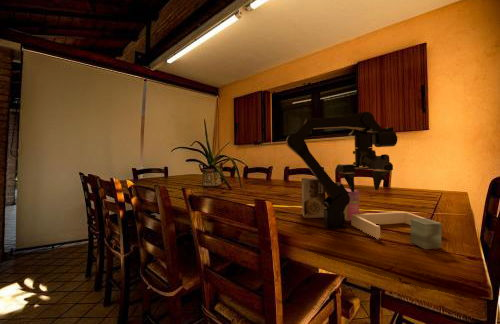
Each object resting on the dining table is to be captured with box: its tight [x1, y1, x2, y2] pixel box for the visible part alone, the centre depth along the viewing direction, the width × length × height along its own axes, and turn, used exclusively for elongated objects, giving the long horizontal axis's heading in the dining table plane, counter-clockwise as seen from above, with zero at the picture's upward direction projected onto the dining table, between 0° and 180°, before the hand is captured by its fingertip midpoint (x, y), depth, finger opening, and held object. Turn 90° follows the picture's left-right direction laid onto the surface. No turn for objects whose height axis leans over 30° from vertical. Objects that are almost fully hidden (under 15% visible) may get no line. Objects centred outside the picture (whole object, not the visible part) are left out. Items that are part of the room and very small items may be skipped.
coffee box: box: [301, 177, 326, 219], centre depth 96 cm, size 9×6×16 cm
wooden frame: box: [350, 211, 440, 240], centre depth 78 cm, size 22×14×4 cm, turn 97°
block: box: [409, 217, 443, 250], centre depth 65 cm, size 5×5×7 cm
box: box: [344, 187, 360, 222], centre depth 94 cm, size 10×6×12 cm, turn 17°
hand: (364, 190), depth 82 cm, fingers open, 9 cm apart
